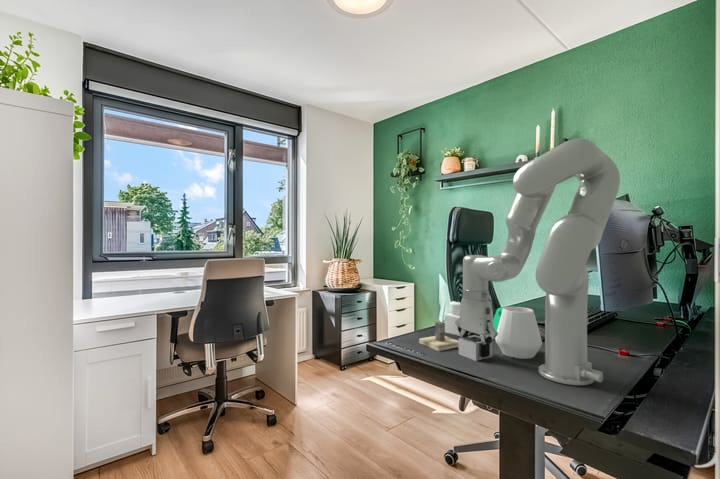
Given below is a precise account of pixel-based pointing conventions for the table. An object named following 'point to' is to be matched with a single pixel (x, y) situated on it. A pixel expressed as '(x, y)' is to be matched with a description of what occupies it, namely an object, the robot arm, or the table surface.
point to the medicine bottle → (452, 318)
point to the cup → (518, 333)
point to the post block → (439, 339)
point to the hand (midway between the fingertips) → (475, 352)
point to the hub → (472, 347)
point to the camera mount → (497, 318)
